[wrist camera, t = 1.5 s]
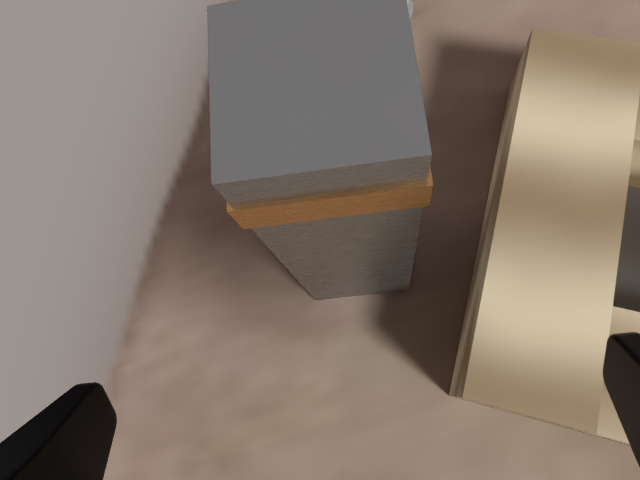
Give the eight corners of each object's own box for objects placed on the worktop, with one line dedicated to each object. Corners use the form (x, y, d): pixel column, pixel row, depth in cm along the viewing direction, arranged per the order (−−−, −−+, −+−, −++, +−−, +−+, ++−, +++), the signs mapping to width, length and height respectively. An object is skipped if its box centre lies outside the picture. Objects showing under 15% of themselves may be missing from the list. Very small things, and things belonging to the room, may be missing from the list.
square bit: (411, 292, 21) (438, 158, 9) (313, 302, 22) (206, 190, 9) (398, 198, 22) (406, -34, 10) (305, 210, 23) (202, 2, 10)
